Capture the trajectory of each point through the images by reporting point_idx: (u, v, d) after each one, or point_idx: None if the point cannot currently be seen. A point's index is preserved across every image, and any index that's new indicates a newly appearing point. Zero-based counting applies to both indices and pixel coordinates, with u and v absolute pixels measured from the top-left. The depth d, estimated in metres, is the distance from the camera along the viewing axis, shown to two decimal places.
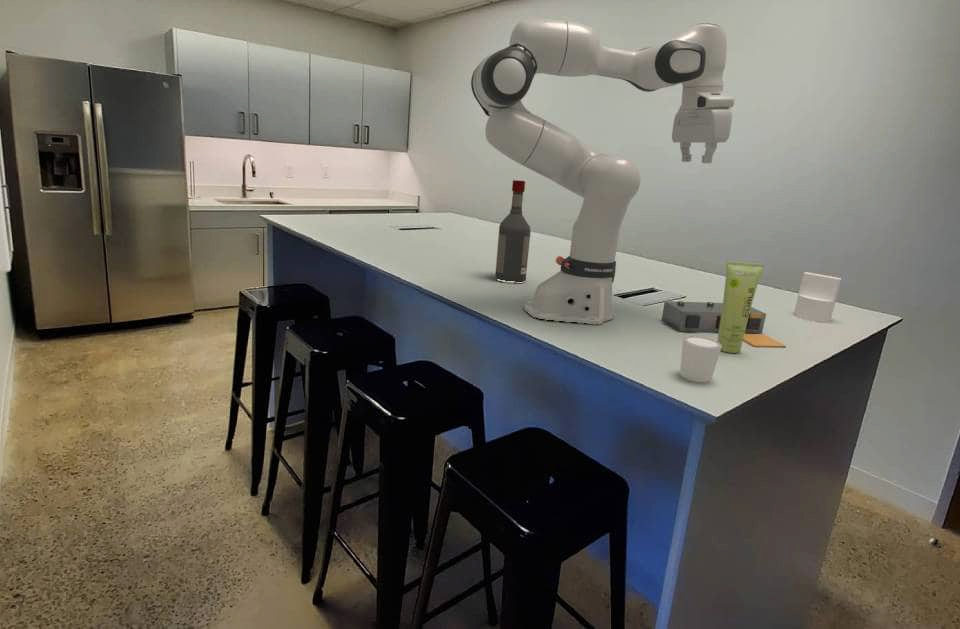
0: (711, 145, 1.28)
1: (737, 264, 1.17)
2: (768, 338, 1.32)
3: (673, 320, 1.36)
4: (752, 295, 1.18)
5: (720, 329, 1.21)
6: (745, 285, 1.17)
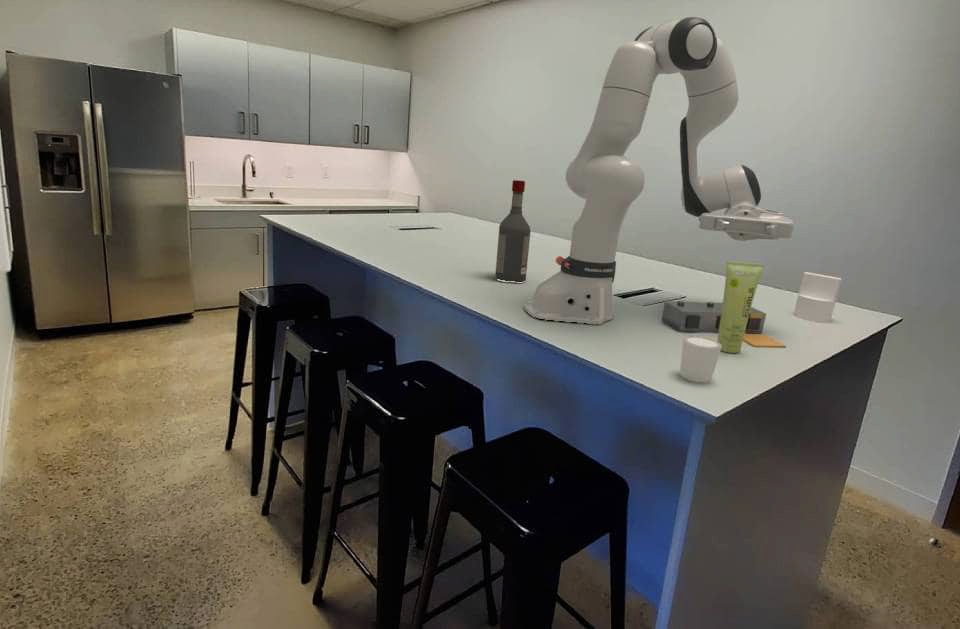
0: (777, 228, 1.28)
1: (737, 264, 1.17)
2: (768, 338, 1.32)
3: (673, 320, 1.36)
4: (752, 295, 1.18)
5: (720, 329, 1.21)
6: (745, 285, 1.17)
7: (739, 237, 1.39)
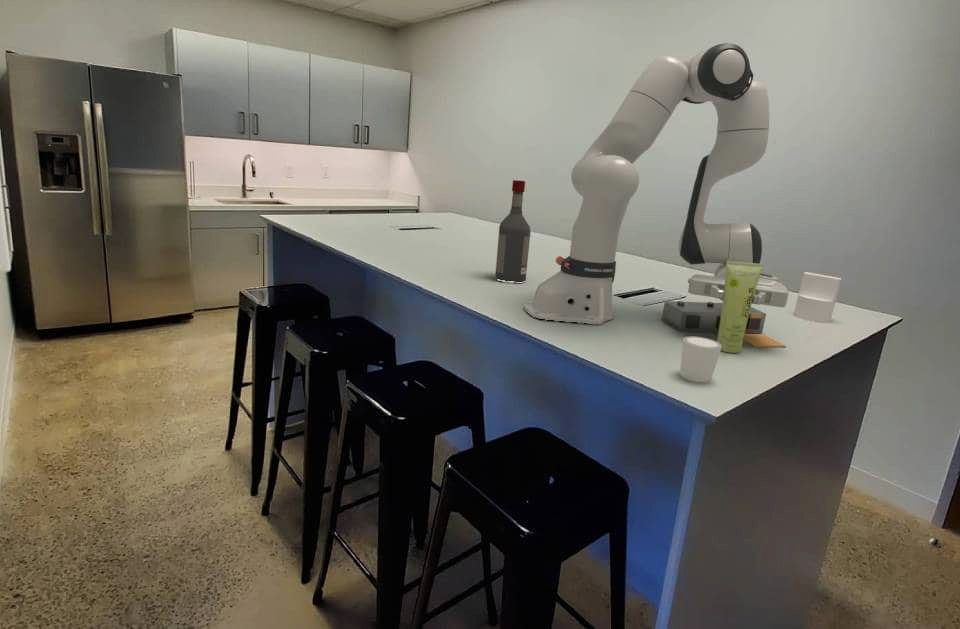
0: (764, 296, 1.20)
1: (737, 264, 1.17)
2: (768, 338, 1.32)
3: (673, 320, 1.36)
4: (752, 295, 1.18)
5: (720, 329, 1.21)
6: (745, 285, 1.17)
7: None
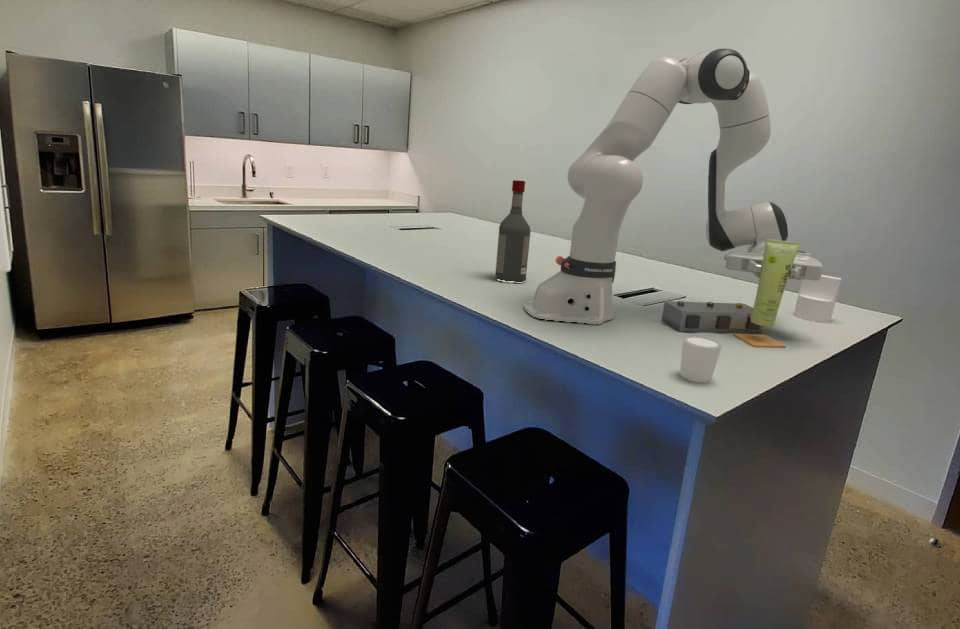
0: None
1: (776, 242, 1.24)
2: (768, 338, 1.32)
3: (673, 320, 1.36)
4: (788, 272, 1.24)
5: (756, 304, 1.28)
6: (783, 262, 1.24)
7: None
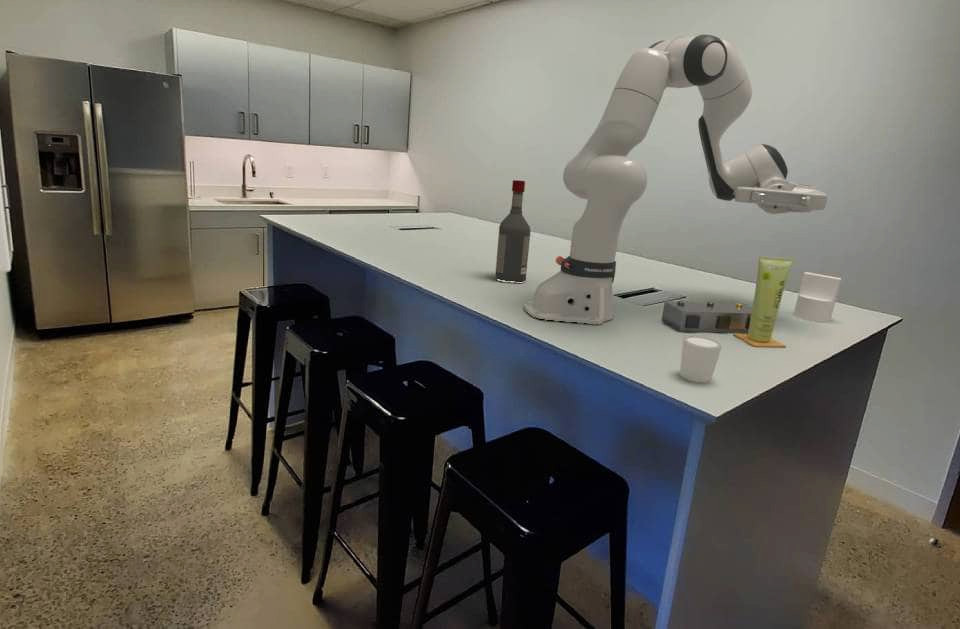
0: None
1: (769, 259, 1.25)
2: None
3: (673, 320, 1.36)
4: (783, 287, 1.25)
5: (752, 320, 1.29)
6: (777, 278, 1.25)
7: (772, 210, 1.44)
